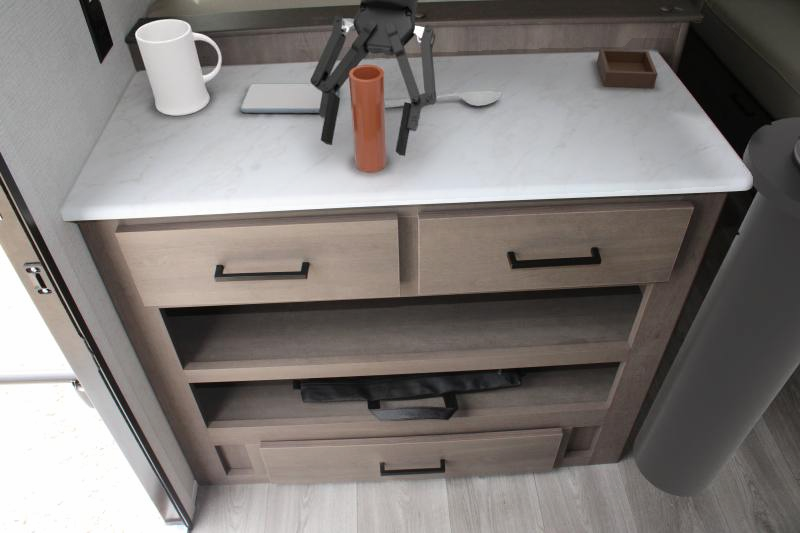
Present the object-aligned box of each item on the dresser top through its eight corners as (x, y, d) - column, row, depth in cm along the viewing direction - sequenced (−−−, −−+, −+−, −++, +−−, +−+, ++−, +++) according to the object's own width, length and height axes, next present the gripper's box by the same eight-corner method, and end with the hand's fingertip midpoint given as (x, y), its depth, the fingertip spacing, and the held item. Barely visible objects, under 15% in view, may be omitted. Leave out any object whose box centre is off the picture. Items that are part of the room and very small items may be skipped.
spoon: (502, 109, 100) (503, 99, 99) (372, 112, 100) (371, 103, 99) (498, 95, 103) (499, 86, 102) (372, 98, 103) (371, 89, 102)
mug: (227, 83, 107) (212, 12, 98) (232, 108, 101) (216, 36, 93) (155, 93, 105) (133, 22, 96) (156, 119, 99) (132, 46, 90)
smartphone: (249, 82, 105) (339, 82, 104) (251, 88, 106) (340, 87, 105) (238, 109, 99) (333, 109, 98) (240, 114, 100) (334, 114, 99)
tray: (644, 64, 110) (648, 50, 108) (653, 88, 104) (657, 73, 103) (596, 63, 111) (599, 49, 109) (603, 86, 105) (606, 72, 103)
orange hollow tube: (387, 155, 92) (385, 65, 82) (384, 173, 88) (381, 82, 79) (357, 153, 92) (351, 64, 82) (353, 172, 89) (346, 80, 79)
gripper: (477, 3, 86) (447, 165, 86) (322, -12, 90) (295, 142, 91) (472, -22, 79) (440, 154, 79) (304, -38, 83) (274, 130, 83)
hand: (362, 148), depth 85 cm, fingers open, 10 cm apart
